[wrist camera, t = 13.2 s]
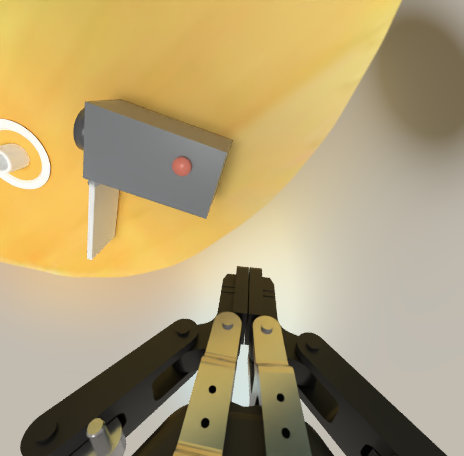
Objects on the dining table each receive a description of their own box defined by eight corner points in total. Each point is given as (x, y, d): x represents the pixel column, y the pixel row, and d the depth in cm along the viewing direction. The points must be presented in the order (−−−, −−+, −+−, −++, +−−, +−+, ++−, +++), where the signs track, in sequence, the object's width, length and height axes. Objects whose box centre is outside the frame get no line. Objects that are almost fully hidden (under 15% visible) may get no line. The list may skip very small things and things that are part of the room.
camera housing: (100, 156, 42) (61, 173, 33) (104, 93, 37) (59, 94, 28) (214, 195, 44) (205, 221, 35) (232, 140, 39) (226, 154, 30)
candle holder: (10, 192, 47) (-11, 200, 43) (-32, 126, 42) (-61, 129, 38) (65, 182, 45) (48, 190, 41) (28, 111, 40) (4, 113, 36)
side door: (113, 163, 42) (85, 177, 35) (122, 166, 42) (96, 181, 35) (108, 233, 49) (83, 257, 42) (115, 236, 49) (93, 260, 42)
